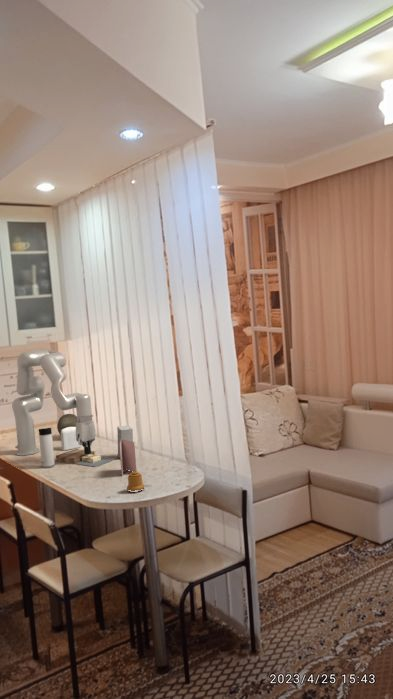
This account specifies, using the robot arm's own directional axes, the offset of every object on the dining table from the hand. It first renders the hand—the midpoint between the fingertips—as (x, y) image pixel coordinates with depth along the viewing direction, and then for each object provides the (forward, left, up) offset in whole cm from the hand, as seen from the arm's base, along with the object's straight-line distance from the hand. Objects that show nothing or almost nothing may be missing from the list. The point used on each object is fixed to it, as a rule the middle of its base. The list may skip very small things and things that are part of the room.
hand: (87, 453), depth 299 cm
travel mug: (-12, -16, -4) cm, 20 cm away
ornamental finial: (+56, -26, -4) cm, 62 cm away
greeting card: (+34, -7, -4) cm, 35 cm away
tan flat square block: (-10, 0, -4) cm, 10 cm away
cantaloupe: (-51, +33, -4) cm, 60 cm away
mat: (+5, 0, -4) cm, 6 cm away
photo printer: (-30, +15, -4) cm, 33 cm away
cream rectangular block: (+2, 0, -3) cm, 4 cm away
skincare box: (+14, +13, -4) cm, 20 cm away
